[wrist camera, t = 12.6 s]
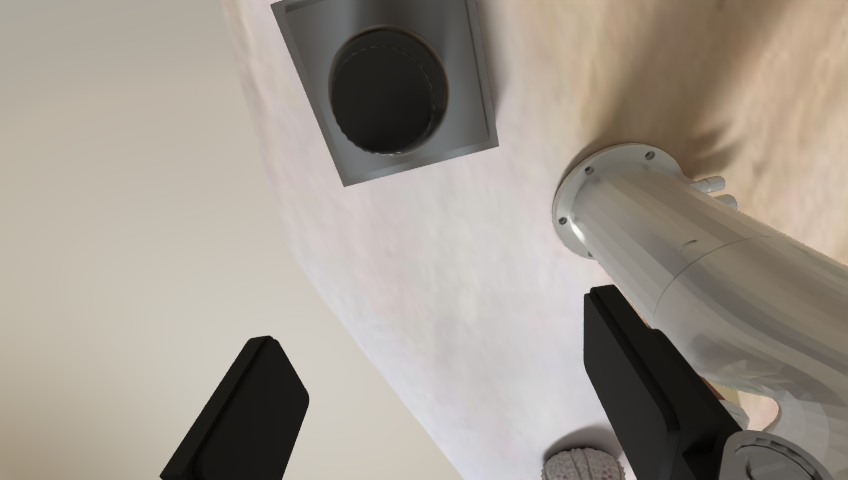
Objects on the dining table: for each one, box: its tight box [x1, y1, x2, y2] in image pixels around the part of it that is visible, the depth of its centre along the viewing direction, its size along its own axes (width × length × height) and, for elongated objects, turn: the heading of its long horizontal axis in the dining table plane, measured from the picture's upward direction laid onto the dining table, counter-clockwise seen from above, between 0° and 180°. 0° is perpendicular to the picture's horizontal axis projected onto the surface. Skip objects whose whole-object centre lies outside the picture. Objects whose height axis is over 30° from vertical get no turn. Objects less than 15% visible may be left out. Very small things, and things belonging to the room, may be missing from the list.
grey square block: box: [270, 0, 499, 187], centre depth 28 cm, size 14×14×4 cm
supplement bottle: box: [327, 24, 450, 157], centre depth 21 cm, size 7×7×12 cm
